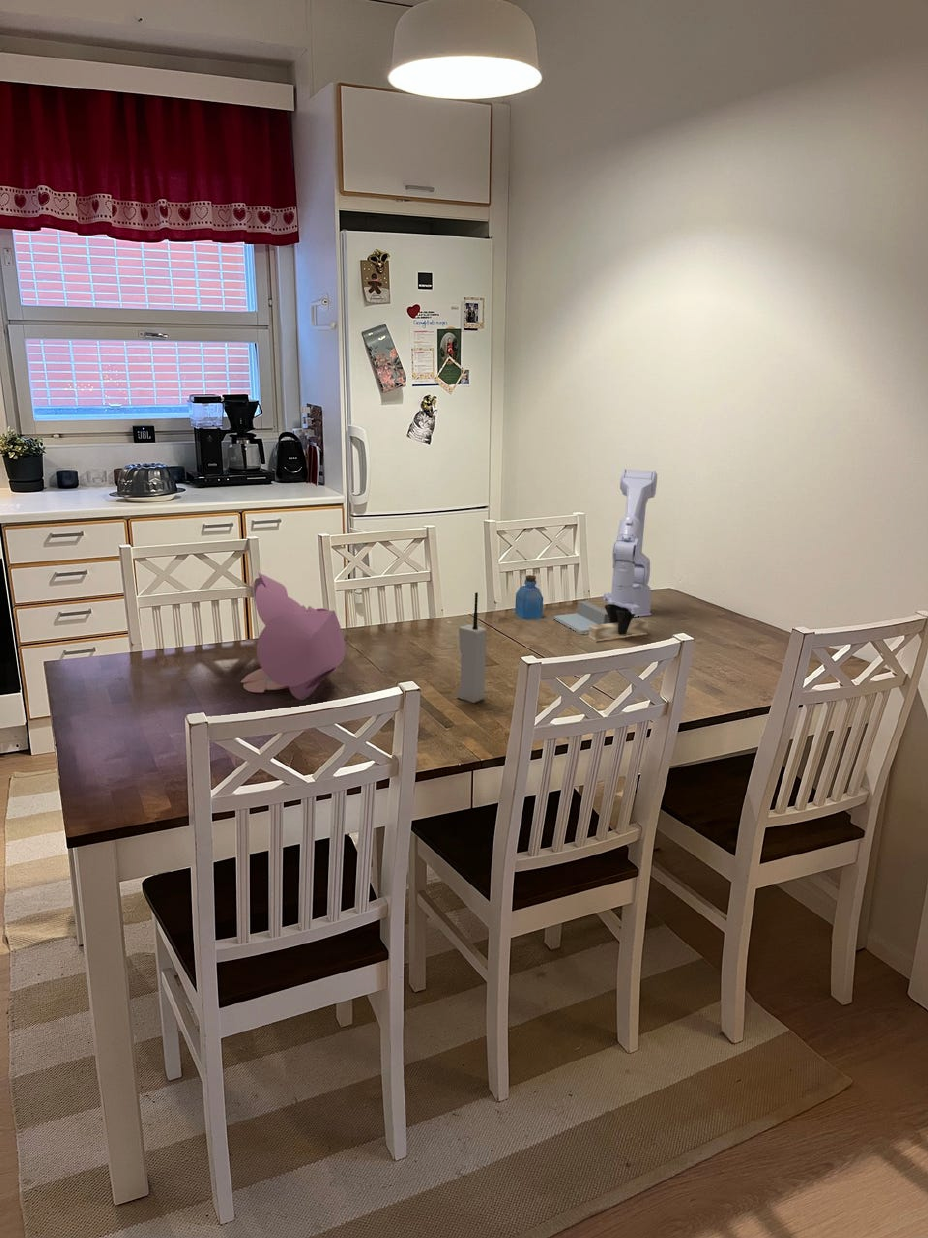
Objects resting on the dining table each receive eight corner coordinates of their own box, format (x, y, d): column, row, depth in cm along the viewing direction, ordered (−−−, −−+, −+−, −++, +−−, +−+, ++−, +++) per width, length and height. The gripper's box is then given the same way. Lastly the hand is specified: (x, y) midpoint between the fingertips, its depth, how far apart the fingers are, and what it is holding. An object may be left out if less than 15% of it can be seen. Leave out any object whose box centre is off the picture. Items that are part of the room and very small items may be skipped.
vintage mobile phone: (467, 693, 210) (470, 588, 203) (484, 699, 207) (488, 592, 200) (456, 698, 208) (460, 591, 200) (473, 703, 205) (478, 595, 197)
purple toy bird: (227, 686, 223) (194, 576, 215) (315, 654, 234) (287, 547, 225) (277, 724, 194) (242, 598, 185) (376, 685, 205) (347, 564, 196)
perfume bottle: (515, 613, 273) (517, 574, 270) (534, 612, 275) (536, 573, 272) (522, 619, 268) (524, 579, 264) (542, 618, 269) (544, 578, 266)
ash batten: (640, 632, 260) (641, 618, 259) (647, 635, 258) (648, 621, 256) (588, 639, 252) (589, 626, 251) (594, 643, 249) (595, 629, 248)
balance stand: (605, 614, 276) (606, 598, 274) (634, 628, 263) (636, 611, 261) (553, 619, 268) (554, 603, 267) (580, 634, 255) (582, 617, 254)
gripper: (595, 579, 255) (592, 626, 259) (625, 592, 242) (621, 641, 246) (616, 577, 258) (613, 623, 262) (647, 590, 245) (643, 638, 249)
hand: (618, 632), depth 254 cm, fingers closed on ash batten, 3 cm apart
